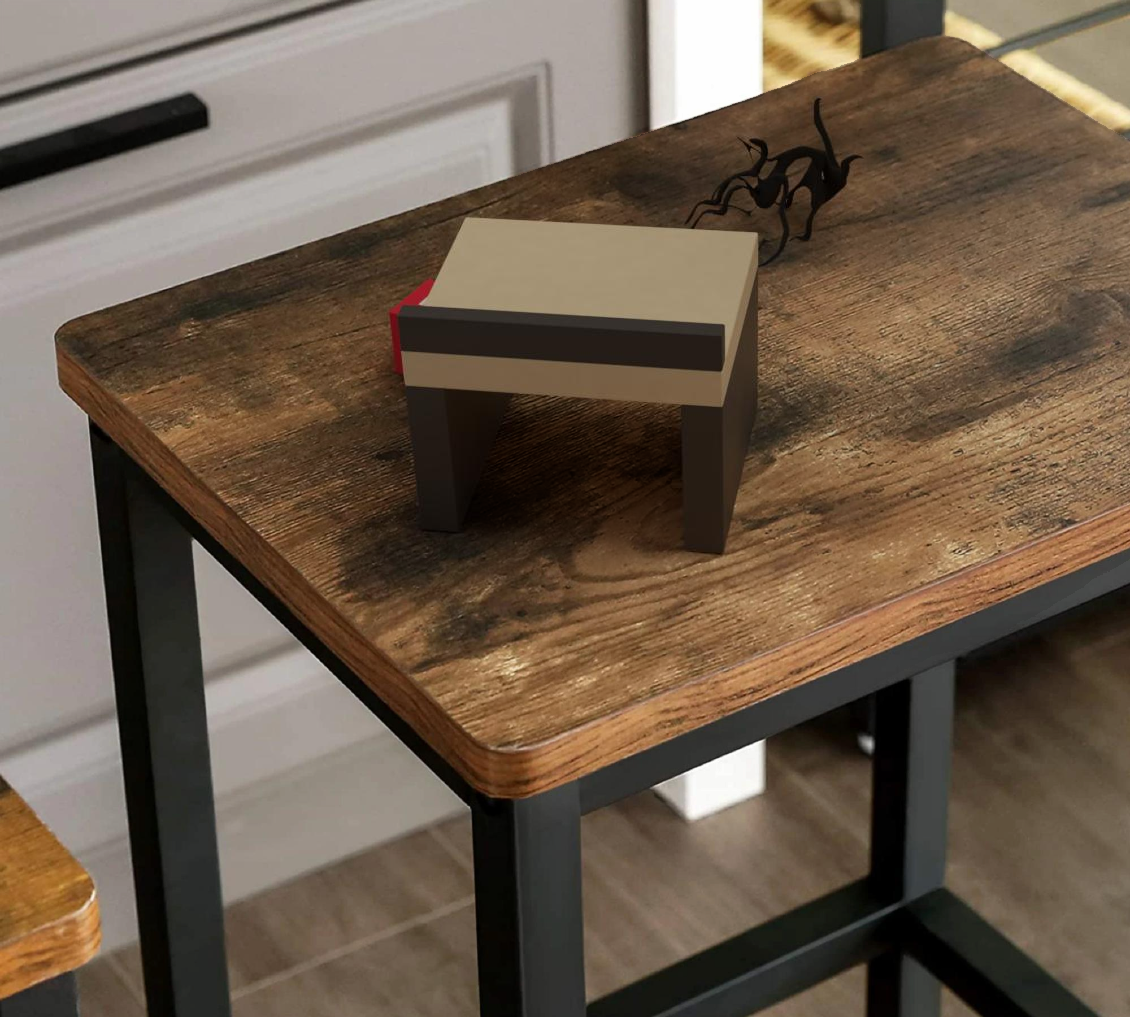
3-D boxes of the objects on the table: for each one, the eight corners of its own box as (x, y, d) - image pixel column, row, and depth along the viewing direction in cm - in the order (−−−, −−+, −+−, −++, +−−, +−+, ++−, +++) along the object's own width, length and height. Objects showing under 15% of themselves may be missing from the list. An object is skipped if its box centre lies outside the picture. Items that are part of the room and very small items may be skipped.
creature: (717, 302, 96) (885, 242, 96) (690, 201, 93) (864, 139, 93) (674, 220, 103) (832, 164, 103) (647, 123, 99) (810, 65, 99)
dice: (493, 355, 92) (488, 294, 90) (455, 390, 90) (449, 328, 88) (434, 338, 93) (428, 278, 91) (395, 372, 91) (388, 311, 89)
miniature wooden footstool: (757, 405, 88) (758, 197, 82) (723, 554, 80) (722, 335, 74) (480, 386, 90) (462, 182, 84) (420, 529, 82) (396, 315, 76)
